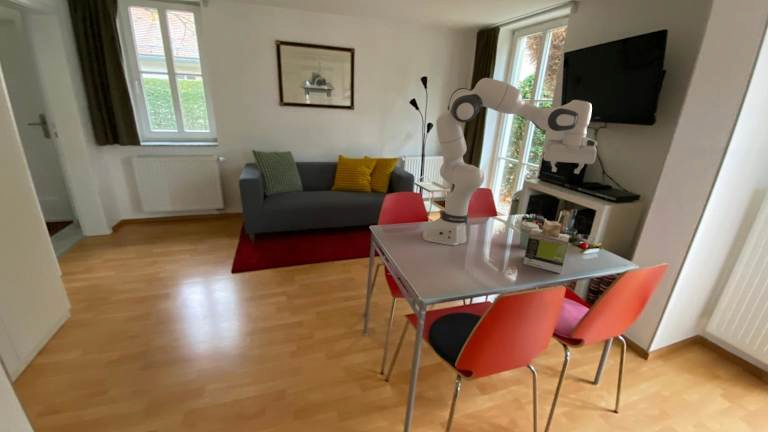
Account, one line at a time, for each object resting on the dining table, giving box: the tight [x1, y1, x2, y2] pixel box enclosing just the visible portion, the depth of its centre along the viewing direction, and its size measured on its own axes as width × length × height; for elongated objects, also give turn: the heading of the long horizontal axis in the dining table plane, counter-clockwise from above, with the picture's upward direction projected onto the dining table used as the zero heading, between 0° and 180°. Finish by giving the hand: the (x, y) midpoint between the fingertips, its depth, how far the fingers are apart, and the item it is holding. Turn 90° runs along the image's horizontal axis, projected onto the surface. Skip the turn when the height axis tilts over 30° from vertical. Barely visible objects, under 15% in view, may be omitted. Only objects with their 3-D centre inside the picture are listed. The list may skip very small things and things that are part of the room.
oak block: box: [541, 220, 562, 237], centre depth 135 cm, size 5×5×5 cm
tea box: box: [523, 228, 570, 274], centre depth 138 cm, size 15×10×15 cm
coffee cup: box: [519, 221, 540, 250], centre depth 157 cm, size 9×8×12 cm
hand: (565, 172), depth 141 cm, fingers open, 8 cm apart
